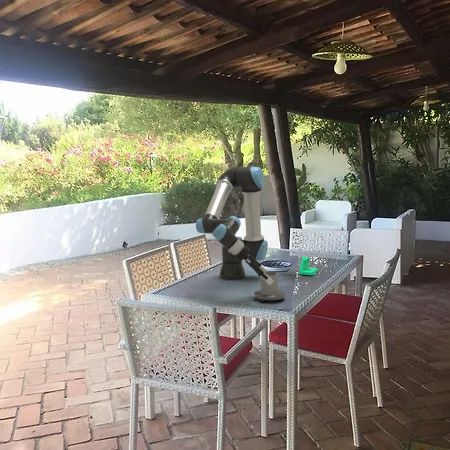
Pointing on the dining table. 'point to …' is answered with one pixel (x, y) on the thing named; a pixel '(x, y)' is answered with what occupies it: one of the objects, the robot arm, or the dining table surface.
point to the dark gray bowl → (267, 297)
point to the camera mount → (306, 267)
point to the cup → (272, 288)
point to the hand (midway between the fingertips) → (270, 279)
